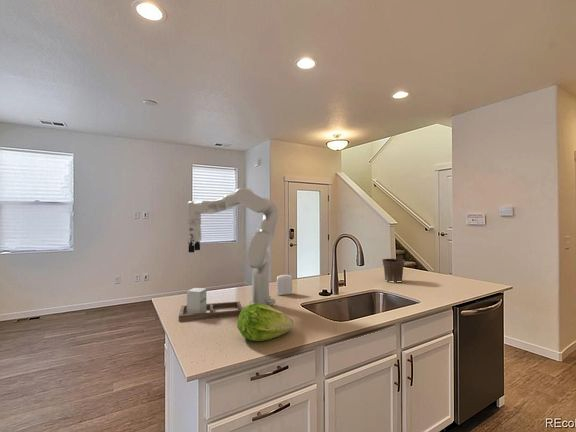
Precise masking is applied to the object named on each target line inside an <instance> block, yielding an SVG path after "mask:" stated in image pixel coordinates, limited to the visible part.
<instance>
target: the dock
mask: <svg viewBox="0 0 576 432" xmlns="http://www.w3.org/2000/svg"><path fill="white" fill-rule="evenodd" d="M228 308H237V309H236V310H235V309H233V310H222V311H214V310H216V309H228ZM242 309H243V308H242V303H241V302H240V301H227V302H214V303H213V302H212V303H206V310H209V312H206V313H196V314H187V313H186V314H185V312H187V304H186V305H181V306H180V309H179V310H180V311H179V313H178V322H185V321H186V322H187V321H197V320H207V319H210V320H211V319H218V318H219V319H221V318H229V317H239V314H240V312H241V310H242Z"/></svg>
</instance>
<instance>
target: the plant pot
mask: <svg viewBox="0 0 576 432" xmlns="http://www.w3.org/2000/svg"><path fill="white" fill-rule="evenodd" d="M381 261H382V265H383V270H384V281H385V280H387V281H394V282H397V281H402V282H403V277H404V276H403V275H404V267H405V259H402V258H401V259H399V258H383V259H381Z"/></svg>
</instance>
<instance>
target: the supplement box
mask: <svg viewBox="0 0 576 432" xmlns="http://www.w3.org/2000/svg"><path fill="white" fill-rule="evenodd" d="M206 304H207V288H205V287H204V288H203V287H202V288H201V287H193V288H191V289H189V290H187V291H186V305H187V311H186V314H196V313H207V309H206Z"/></svg>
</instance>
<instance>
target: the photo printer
mask: <svg viewBox="0 0 576 432" xmlns="http://www.w3.org/2000/svg"><path fill="white" fill-rule="evenodd" d="M292 294H293V276H292V275H290V274H281V275H277V276H276V295H277V296H284V295H292Z"/></svg>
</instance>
